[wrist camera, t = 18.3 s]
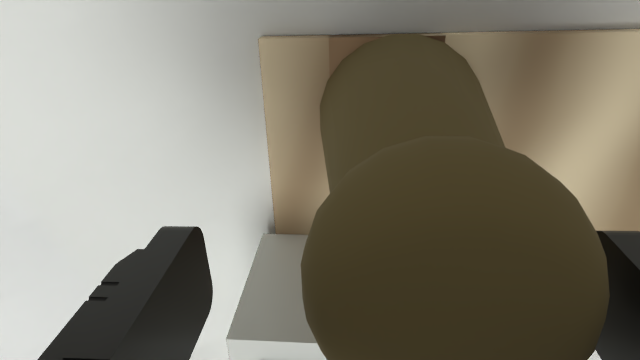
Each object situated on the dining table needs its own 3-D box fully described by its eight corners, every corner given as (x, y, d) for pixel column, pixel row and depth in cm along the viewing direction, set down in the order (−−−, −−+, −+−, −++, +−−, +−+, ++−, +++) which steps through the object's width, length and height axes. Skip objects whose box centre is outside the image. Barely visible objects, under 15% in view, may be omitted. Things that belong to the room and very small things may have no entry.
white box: (449, 238, 18) (490, 361, 13) (438, 326, 21) (468, 465, 15) (263, 233, 19) (222, 349, 13) (271, 319, 21) (239, 450, 16)
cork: (506, 47, 15) (792, 211, 5) (457, 199, 18) (582, 498, 8) (331, 20, 15) (279, 133, 5) (309, 177, 18) (249, 444, 8)
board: (763, 26, 15) (780, 29, 14) (639, 335, 21) (647, 346, 20) (261, 36, 16) (258, 39, 15) (286, 323, 22) (284, 332, 22)
